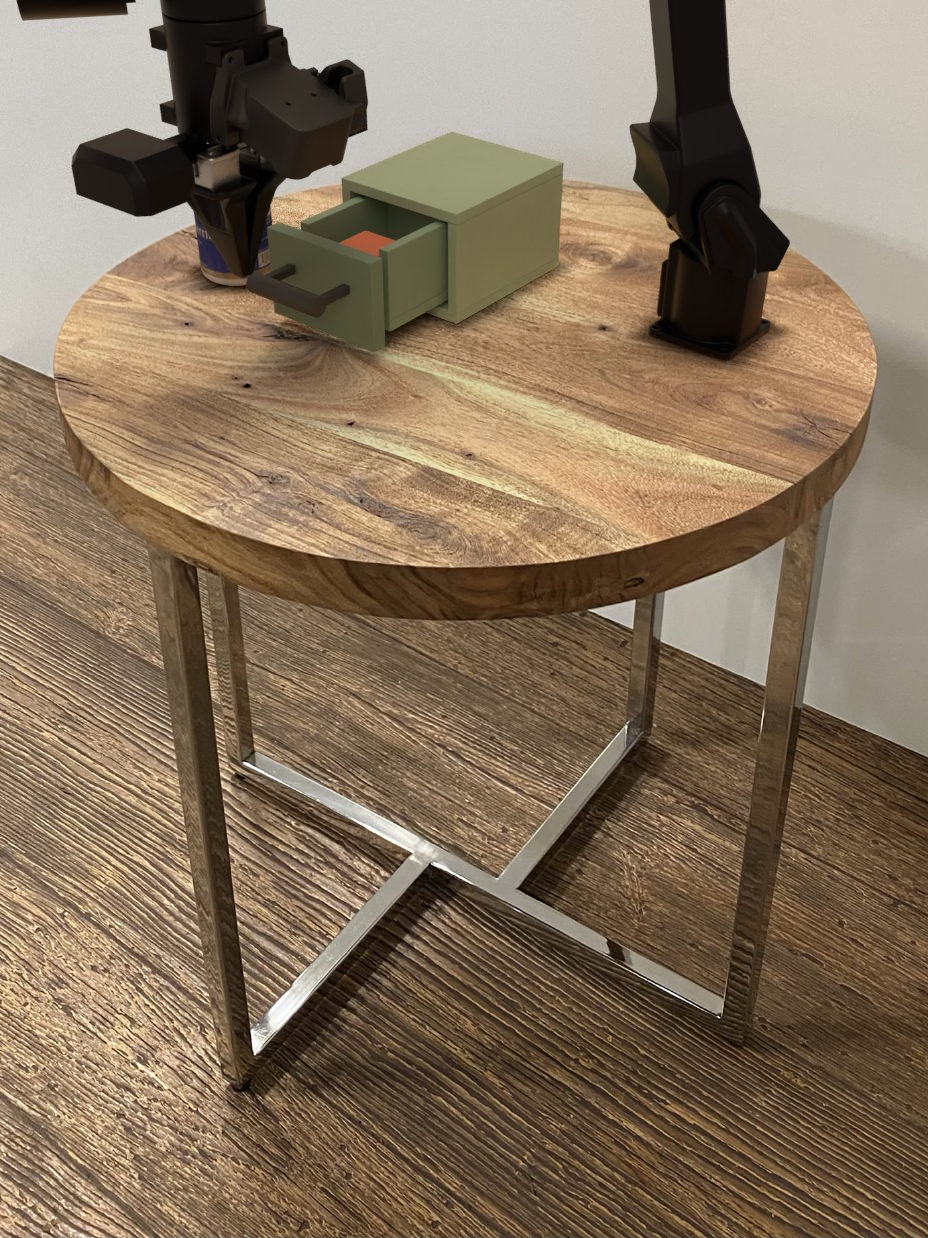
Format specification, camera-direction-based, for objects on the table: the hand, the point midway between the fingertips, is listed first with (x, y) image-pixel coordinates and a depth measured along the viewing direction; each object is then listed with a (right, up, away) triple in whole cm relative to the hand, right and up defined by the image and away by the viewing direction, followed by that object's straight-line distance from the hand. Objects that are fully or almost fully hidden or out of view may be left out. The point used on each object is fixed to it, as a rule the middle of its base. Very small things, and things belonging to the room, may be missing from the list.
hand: (242, 275), depth 82 cm
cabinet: (+13, +5, +18) cm, 22 cm away
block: (+7, +2, +11) cm, 13 cm away
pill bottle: (-3, +5, +18) cm, 19 cm away
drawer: (+7, 0, +11) cm, 12 cm away
